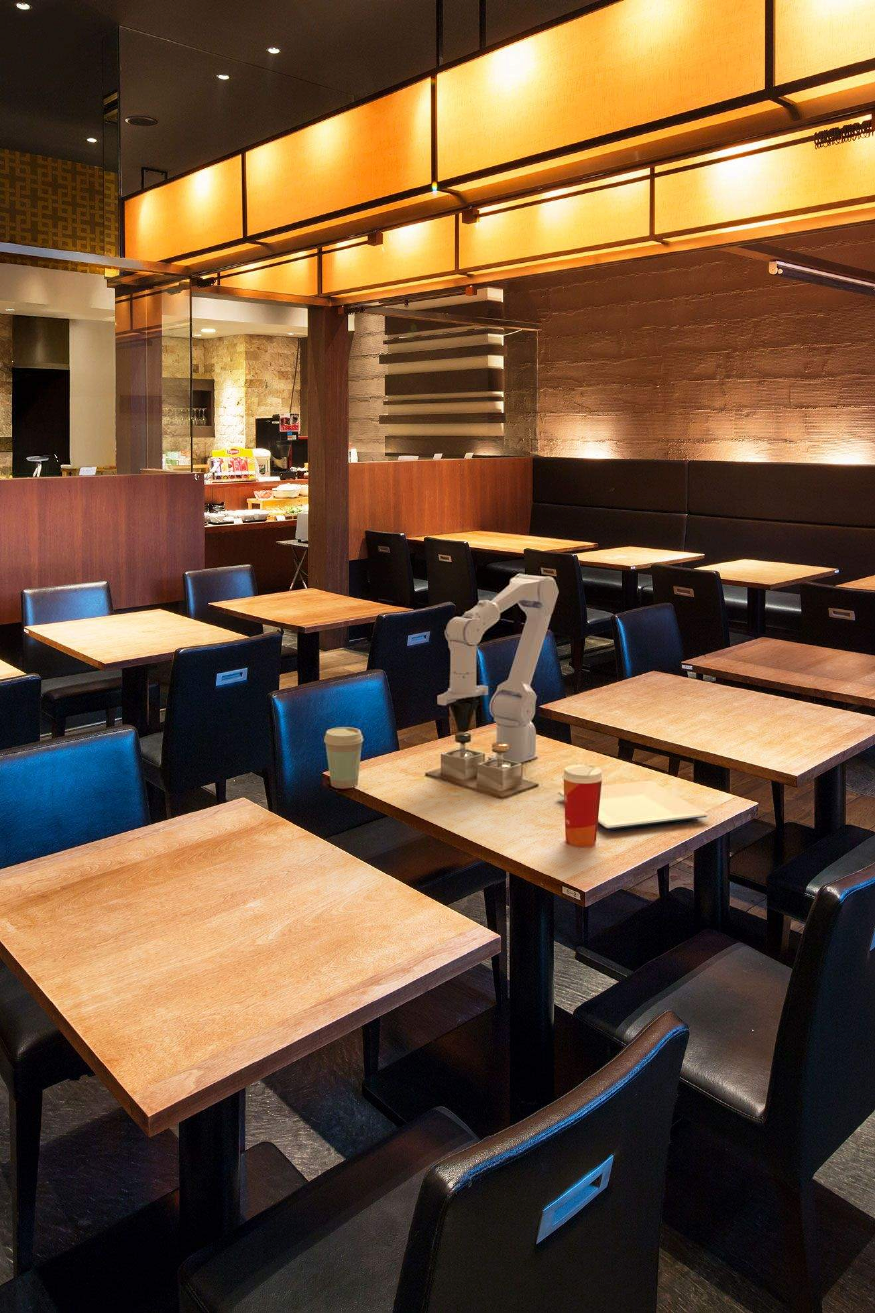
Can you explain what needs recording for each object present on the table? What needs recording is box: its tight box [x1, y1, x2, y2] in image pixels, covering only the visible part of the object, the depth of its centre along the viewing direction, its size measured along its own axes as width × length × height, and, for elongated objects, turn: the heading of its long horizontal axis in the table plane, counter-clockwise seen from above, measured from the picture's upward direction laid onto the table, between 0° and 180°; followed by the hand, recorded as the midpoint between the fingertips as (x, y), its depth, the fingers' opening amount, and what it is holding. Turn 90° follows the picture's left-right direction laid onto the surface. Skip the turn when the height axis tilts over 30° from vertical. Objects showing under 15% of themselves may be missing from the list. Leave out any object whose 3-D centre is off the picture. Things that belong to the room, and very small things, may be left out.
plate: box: [557, 780, 709, 830], centre depth 206 cm, size 22×22×2 cm
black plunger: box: [452, 732, 473, 759], centre depth 227 cm, size 5×5×5 cm
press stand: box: [424, 747, 539, 800], centre depth 224 cm, size 12×23×5 cm, turn 46°
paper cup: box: [561, 764, 605, 848], centre depth 188 cm, size 8×8×14 cm
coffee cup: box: [323, 726, 364, 790], centre depth 221 cm, size 8×9×12 cm
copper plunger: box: [489, 741, 511, 770], centre depth 220 cm, size 5×5×5 cm
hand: (462, 730), depth 227 cm, fingers closed
